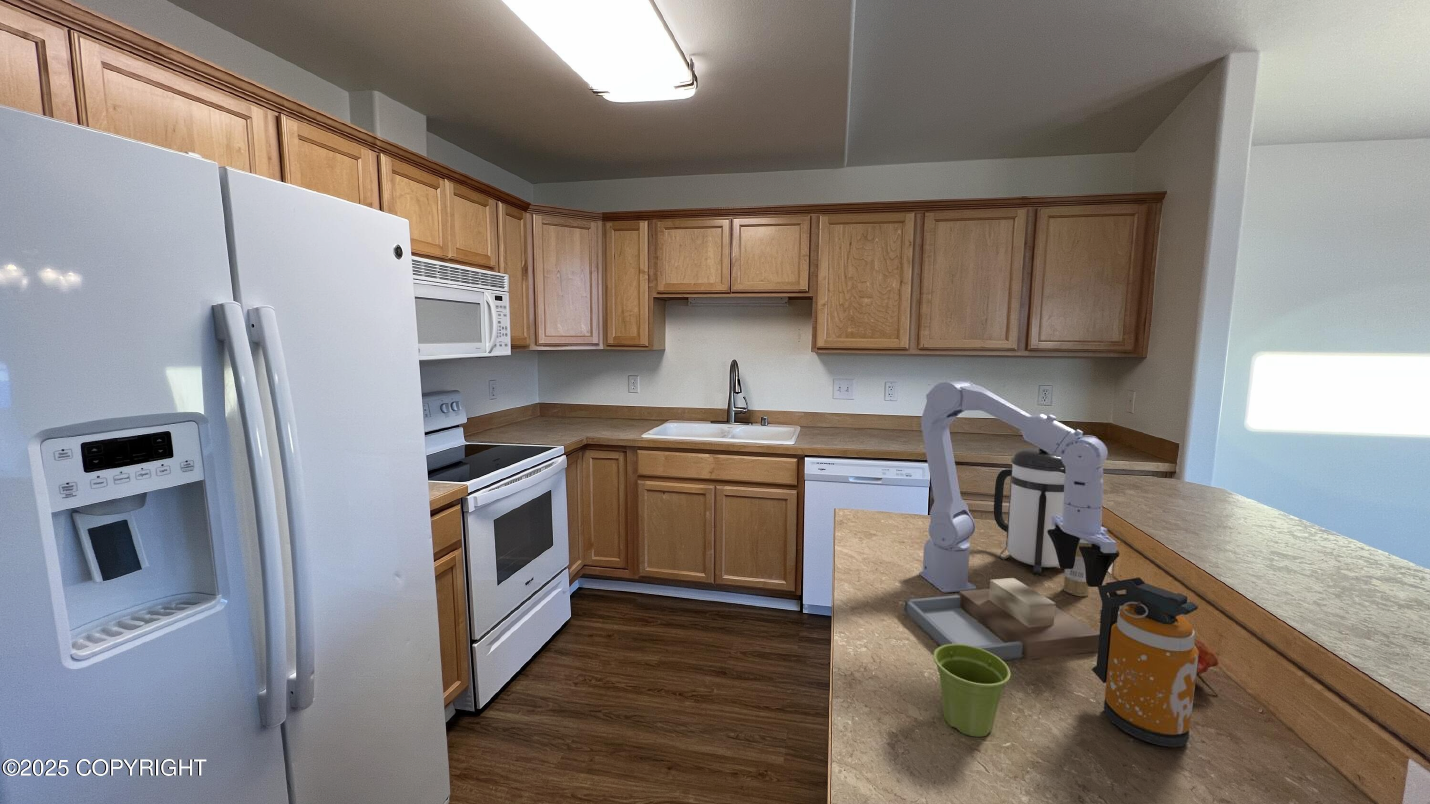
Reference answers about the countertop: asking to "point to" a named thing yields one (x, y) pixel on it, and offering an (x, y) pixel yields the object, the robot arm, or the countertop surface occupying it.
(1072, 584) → the sprinkles bottle
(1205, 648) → the pomegranate
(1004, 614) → the walnut plate
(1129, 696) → the canister
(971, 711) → the plant pot
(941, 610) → the box
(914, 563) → the countertop surface
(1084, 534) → the robot arm
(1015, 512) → the coffee press
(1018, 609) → the cream rectangular box
